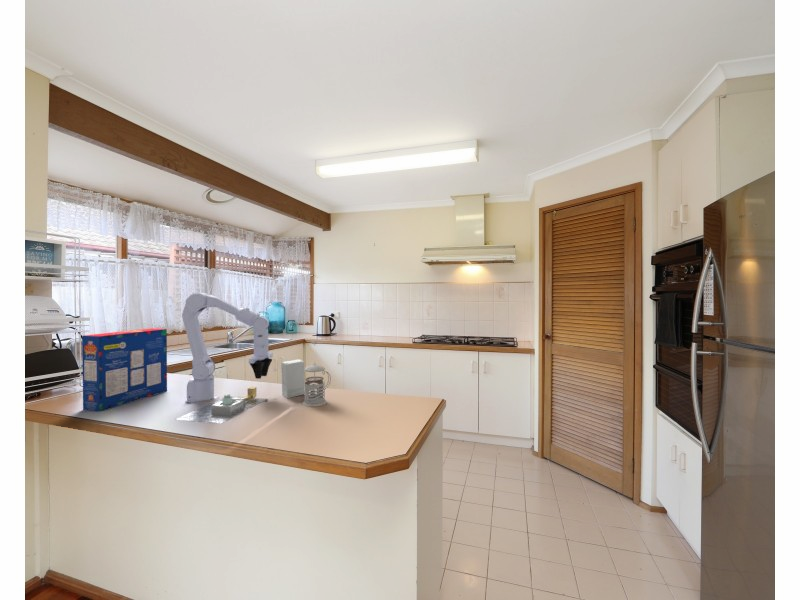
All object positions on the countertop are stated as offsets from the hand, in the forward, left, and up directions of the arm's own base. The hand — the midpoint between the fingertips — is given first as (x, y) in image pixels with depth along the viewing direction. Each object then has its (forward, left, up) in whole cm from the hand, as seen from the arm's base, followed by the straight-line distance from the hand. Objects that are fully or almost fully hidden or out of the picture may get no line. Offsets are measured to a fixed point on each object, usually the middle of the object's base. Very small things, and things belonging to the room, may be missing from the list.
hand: (261, 377), depth 145 cm
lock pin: (0, -10, -7) cm, 12 cm away
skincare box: (+12, +5, -9) cm, 16 cm away
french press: (+26, -2, -9) cm, 27 cm away
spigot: (0, -21, -7) cm, 22 cm away
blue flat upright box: (-51, -14, -9) cm, 54 cm away
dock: (-3, -19, -8) cm, 21 cm away
